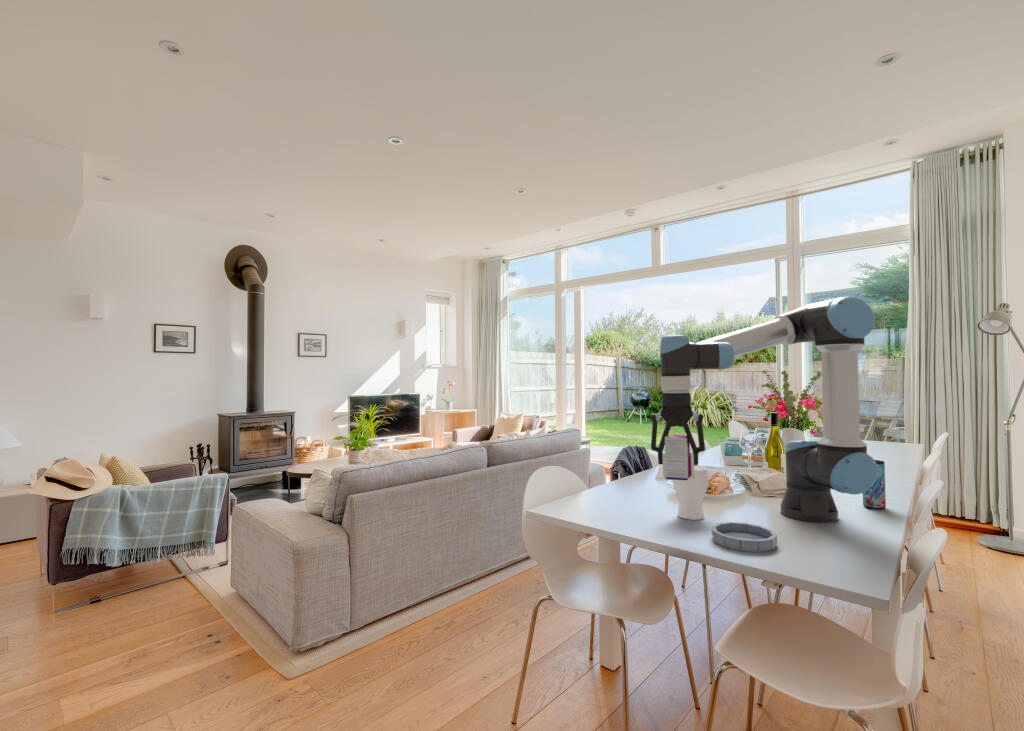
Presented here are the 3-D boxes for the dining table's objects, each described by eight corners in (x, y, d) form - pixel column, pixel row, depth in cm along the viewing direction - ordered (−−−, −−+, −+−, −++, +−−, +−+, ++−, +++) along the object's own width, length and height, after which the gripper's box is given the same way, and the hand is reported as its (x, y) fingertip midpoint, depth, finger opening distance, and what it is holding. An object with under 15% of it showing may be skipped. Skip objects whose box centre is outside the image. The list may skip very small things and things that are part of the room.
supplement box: (688, 480, 129) (686, 437, 129) (665, 479, 131) (663, 436, 132) (691, 476, 134) (689, 434, 134) (669, 475, 136) (667, 434, 137)
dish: (767, 534, 132) (767, 524, 132) (783, 554, 118) (783, 542, 118) (708, 530, 136) (708, 520, 136) (716, 549, 122) (716, 538, 122)
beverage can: (863, 508, 157) (862, 461, 157) (862, 504, 162) (861, 458, 162) (886, 511, 153) (885, 463, 154) (885, 506, 158) (883, 460, 159)
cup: (712, 522, 144) (711, 471, 144) (675, 520, 146) (674, 470, 146) (705, 512, 154) (704, 464, 155) (670, 510, 156) (669, 463, 157)
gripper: (712, 391, 134) (714, 475, 134) (639, 391, 139) (641, 473, 139) (716, 392, 127) (718, 481, 126) (638, 393, 132) (641, 478, 131)
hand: (678, 476), depth 133 cm, fingers closed on supplement box, 6 cm apart
